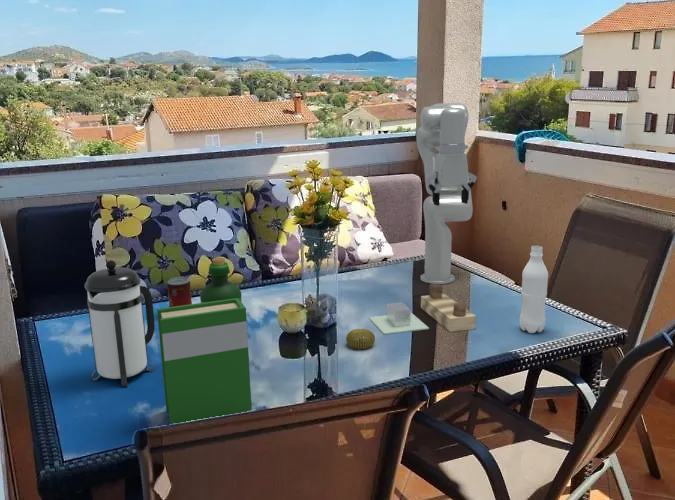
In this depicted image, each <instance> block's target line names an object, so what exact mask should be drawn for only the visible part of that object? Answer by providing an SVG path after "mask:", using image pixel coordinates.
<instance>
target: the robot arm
mask: <svg viewBox="0 0 675 500" xmlns="http://www.w3.org/2000/svg"><path fill="white" fill-rule="evenodd" d="M419 118H420V125H421V126H420V127H419V128H417V131H416V134H415V135H416V144H417V150H418V152H419V155H420V157H421V160H422V163H423V167H424V182H425V189H426V192H427V194H429V195H430V196H427V197H426V198H425V199H424V201H423V205H422V206H423V207H422V208H423V217H424V227H425V229H424V230H425V231H424V233H425V234H424V235H425V237H424V242H425V243H424V246H425V247H424V266H423V268H424V273H422V274H421V275H420V281H422V282H423V283H427V284H440V285H445V284H450V283H453V282H455V280H456V279H455V278H456V277H455V275H454V274H451V273H452V270H451V269H452V241H453V238H452V237H453V235H452V231H451V229H450V228H449V226H448V225H446V224H445V223H448V222H466V221H469V220H470V219H471V218H472V216H473V211H474V210H473V209H474V208H473V207H474V206H473V199H472V188H473V187H474V185H475V182H476V180H477V179H478V176H476V175H475V174H473V173H471V172H469V166H468V165H469V164H468V159H467V157H468V156H467V154H466V153H465V151H466V150H469V145H467V144H465V137H466V131H467V127H468V123H469V110H468V107H467V106H466V105H465V104H464V103H461V102H459V103H458V102H451V103H450V102H449V103H448V102H447V103H446V102H443V103H442V102H441V103H435V104H433V105H431V106H430V105H429V106H424V107H423V108H422V110H421V112H420V116H419ZM437 148H439V149H437Z"/></svg>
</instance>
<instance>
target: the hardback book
mask: <svg viewBox="0 0 675 500" xmlns="http://www.w3.org/2000/svg"><path fill="white" fill-rule="evenodd" d="M156 315H157V324H158V325H157V327H158V335H159V344H160V358H161V368H162V369H161V370H162V380H163V390H164V399H165V411H166V413H168V417H169V424H173V423H180V422H186V421H191V420H197V419H203V418H209V417H215V416H219V417H223V416H222V415H224V416H228V415H227V414H229V415H234V414H238V413H243V412H248V411H252V410H253V408H252V407H253V406H252V393H251V392H252V391H251V389H252V388H251V374H250V358H249V357H250V356H249V355H250V353H249V337H248V320H247V307H246V306H245V305H244V303H243V302H242V300H241V301H240V300H239V299H238V298H234V299H226V300H219V301H212V302H205V303H201V302H196V303H192V304H190V305H183V306H175V307H169V306H168V307H163V308H157V309H156ZM233 413H234V414H233ZM215 418H216V417H215Z"/></svg>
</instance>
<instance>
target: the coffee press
mask: <svg viewBox="0 0 675 500" xmlns="http://www.w3.org/2000/svg"><path fill="white" fill-rule="evenodd" d="M116 266H117V263H116V262H115V261H114V260H108V261H107V262H106V265H105V267H106V268H103V269H100V270H96V271H95V272H92V273H91V274H90V275H89V276H88V277H87V278H86V281H85V283H84V288H85V290H86V292H87V298H86V301H87V302H86V303H87V308H88V317H89V325H90V333H91V343H92V351H93V360H94V366H95V367H94V368H95V369H94V371H93V372H92V374H91V381H93V382H96V381H99V378H101V377H103V378H106V379H112V380H118V379H120V381H121V388H124V387H128V380H127V378H130V377H133V376H136V375H138V374H140V373H141V372H142V371H144V370H145V371H148V372H151V373H152V372H153V371H154V365H153V364H152V363H151V362H150V361H149V356H148V355H147V354H148V349H147V348H148V347H147V345H148V344H149V343H150V342H151V341H152V339H153V336H154V334H155V330H156V329H155V325H156V323H155V315H154V313H155V312H154V303H153V302H154V301H153V296H152V293H151V291H150V289H149V288H148V287H147V286H143V285H140V284H141V282H142V281H141V277H140V276H139V275H138V274H137V272H136V271H134V269H131V268H127V267H116ZM142 295H143V297H144V299H142V298H143V297H142ZM143 300H144V305H145V316H146V323H147V324H146V326H147V330H146V329H145V319H144V309H143ZM148 364H149V366H151V367H152V368H151V369H149V368H148V367H146V366H147V365H148ZM96 371H97V374H98V376H96V377H95V378H94V375H95V374H96Z"/></svg>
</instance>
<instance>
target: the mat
mask: <svg viewBox="0 0 675 500" xmlns="http://www.w3.org/2000/svg"><path fill="white" fill-rule="evenodd" d="M368 319H369V320H370V321H371V322H372V324H373V325H374V326H375V327H377V329H378V330H379V331H380V332H381V333H382V335H392V334H401V333H407V332H408V333H409V332H410V333H411V332H416V331H423V330H425V331H426V330H429V329H430V327H429V326H428V325H426V324H425V323H424V322H422V320H421V319H420V318H418V317H417V316H416V315H415V314H414V313H412V312H411V323H410V325H409V326H401V327H394V326H393V325H392V324H391V323H390V322H389V321H388V320H387V314H386V315H385V314H384V315H378V316H377V315H376V316H369V317H368Z"/></svg>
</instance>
